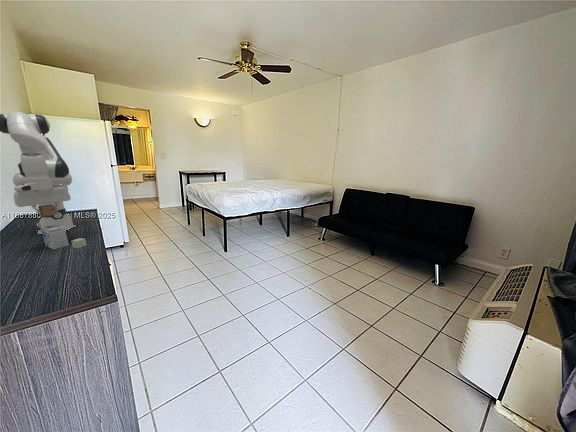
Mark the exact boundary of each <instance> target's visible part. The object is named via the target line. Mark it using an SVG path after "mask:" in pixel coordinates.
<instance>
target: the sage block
mask: <svg viewBox="0 0 576 432" xmlns="http://www.w3.org/2000/svg"><path fill="white" fill-rule="evenodd" d="M86 240H87V239H86V238H83V237H82V238H80V237H79V238H76V239H73V240H71V245H72V249H80V248H84V247H86V246H88V245H87V241H86Z"/></svg>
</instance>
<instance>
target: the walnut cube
mask: <svg viewBox="0 0 576 432" xmlns="http://www.w3.org/2000/svg"><path fill="white" fill-rule="evenodd" d="M37 209H38V210H41V212H42V213H40V214H39V215H40V217H41V216H44V217H45V216H51V215H57V212H56V208H55V205H44V206H39V205H37Z"/></svg>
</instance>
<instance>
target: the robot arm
mask: <svg viewBox="0 0 576 432" xmlns="http://www.w3.org/2000/svg"><path fill="white" fill-rule="evenodd" d="M50 128H51V124H50V122H49V120H48V118H46V117H45V116H44V115H41V114H32V113H31V114H29V113H25V112H22V111H13V112H12V111H11V112H9V113H6V114H4V113H0V133H3V134H7V135H9V136H10V138H11V139H12V140H13V141H14V142H16V143H17V144H18V146H19V149H20V151H21V154H20V155H19V156H20V162H19V163H18V164H17V167H18V170H19V172H17V173H15V174H14V175H13V177H12V182H13V184H14V185H15V186H14V187H13V190H14V191H15V192H14V194H13V201H14V204H15V206H16V207H18V208H22V207H31V208H32V209H33V210H34V211H36V214H37V215H40V213H42V212H41V210H39V209H38V206H44V205H55V208H56V212H57V215H51V216H45V217H44V216H41V215H40V219H39V222H37V223H35V224H36V227H37V228H40V229H41V227H46V226H51V225H60V226H63V227H64V228H65V232H67V231H66V230H68V231H70V230H69V229H71V228H73V227H75V228H77V227H76V226H77V225H76V224H75V225H74V223H73V220H72V217H71V215H68V212H67V209H66V208H65V204H64V202H68V201H70V200H71V195H70V192H69V188H68V186H71V184H72V182H73V178H72V175H71V174H70V169H69V165H68V164H67V163H66V161H65V160H64V159H63V158H62V156H61V154H60V153H59V151H58V150H57V148H56V147H55V145H54V144H53V142H52V141H51V140H50V139H49V137H46V136H45V135H46V134H48V133H49V132H50V130H51V129H50ZM73 229H74V228H73ZM71 230H72V229H71ZM39 234H42V232H41V230H38V232H37V235H39Z"/></svg>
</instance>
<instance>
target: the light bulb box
mask: <svg viewBox="0 0 576 432" xmlns="http://www.w3.org/2000/svg"><path fill="white" fill-rule="evenodd" d="M41 232H42V238H43V241H44V245H45V247H48V249H52V250H56V249H61V248H64V247H68V246H70V243H69V240H68V236H67V233H66V232H67V231H65V228H64V227H63V226H60V225H51V226H46V227H41Z"/></svg>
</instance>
